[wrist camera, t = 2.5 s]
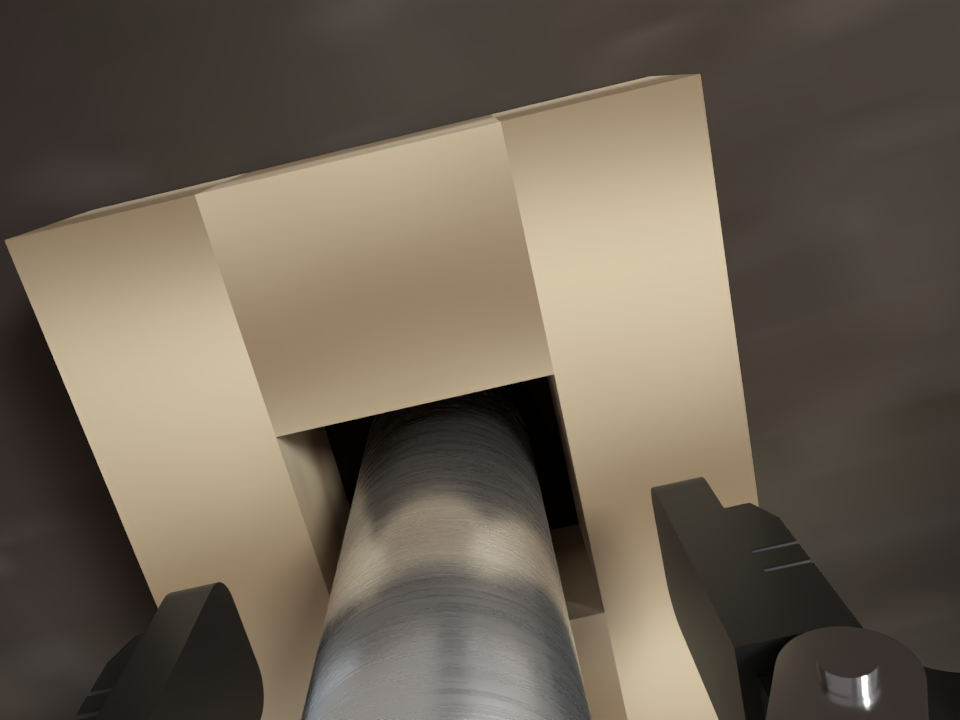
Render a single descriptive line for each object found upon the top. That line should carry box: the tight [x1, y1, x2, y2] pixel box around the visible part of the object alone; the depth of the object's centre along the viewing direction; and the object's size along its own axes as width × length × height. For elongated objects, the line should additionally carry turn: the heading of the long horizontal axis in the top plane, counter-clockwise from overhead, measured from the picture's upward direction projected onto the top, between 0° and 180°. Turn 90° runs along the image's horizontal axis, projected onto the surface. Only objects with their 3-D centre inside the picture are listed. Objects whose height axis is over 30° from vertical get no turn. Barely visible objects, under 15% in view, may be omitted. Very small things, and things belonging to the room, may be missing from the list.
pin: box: [301, 388, 592, 720], centre depth 11 cm, size 4×4×12 cm
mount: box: [5, 74, 759, 720], centre depth 15 cm, size 12×10×3 cm
